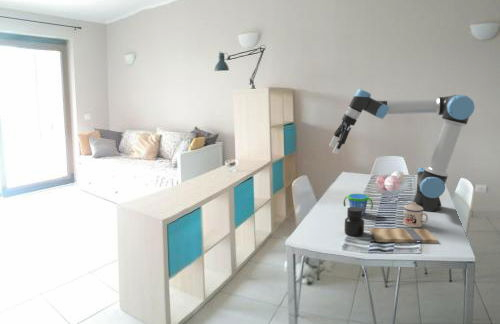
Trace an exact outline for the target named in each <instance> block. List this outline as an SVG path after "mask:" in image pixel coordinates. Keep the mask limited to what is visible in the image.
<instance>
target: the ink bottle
mask: <svg viewBox="0 0 500 324" xmlns="http://www.w3.org/2000/svg"><path fill="white" fill-rule="evenodd" d="M344 233H345V235H348V236H350V237H362V236H364V234H365V220H364V218H363V215H362V209H361V208H358V207H350V206H349V207H347V217H345V219H344Z"/></svg>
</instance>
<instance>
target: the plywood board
mask: <svg viewBox="0 0 500 324" xmlns="http://www.w3.org/2000/svg"><path fill="white" fill-rule="evenodd" d="M369 232H370V234H371V236H372V237H373V239H374V240H375V242H377V243H408V242H417V241H420V242H421V243H420V244H422V243H423V244H438V239H437V238H436V237H435V236H434V235H433V234H432V233H431V232H430V231H429V230H428V229H426V228H386V227H385V228H383V227H382V228H379V227H377V228H375V227H370V228H369Z"/></svg>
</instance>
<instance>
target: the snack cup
mask: <svg viewBox="0 0 500 324" xmlns="http://www.w3.org/2000/svg"><path fill="white" fill-rule="evenodd" d="M347 199H348V202H349V207H358V208H361V209H362V216H364V215H366V211H367V205H368V201H370V204H371V206H370V210H371V211H372V209H373V207H374V203H373V200H372V199H371V198H370V197H369V195H367V194H363V193H350V194H348V195H347V196H346V197H344V200H343V207H346V200H347Z"/></svg>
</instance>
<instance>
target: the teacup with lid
mask: <svg viewBox="0 0 500 324" xmlns="http://www.w3.org/2000/svg"><path fill="white" fill-rule="evenodd" d="M423 210H424V209H423V207H421V206H419V205H417V204H416V202H413V201H412V202H411V203H409V204H405V205H403V222H402V223H403V225H404V226H406V227H409V228H420V227H422V226H423V224H425V223H427V222H428V220H429V216H428V214H427V213H425V212H424V211H423ZM424 216H425V220H424V221H423V217H424Z"/></svg>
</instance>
